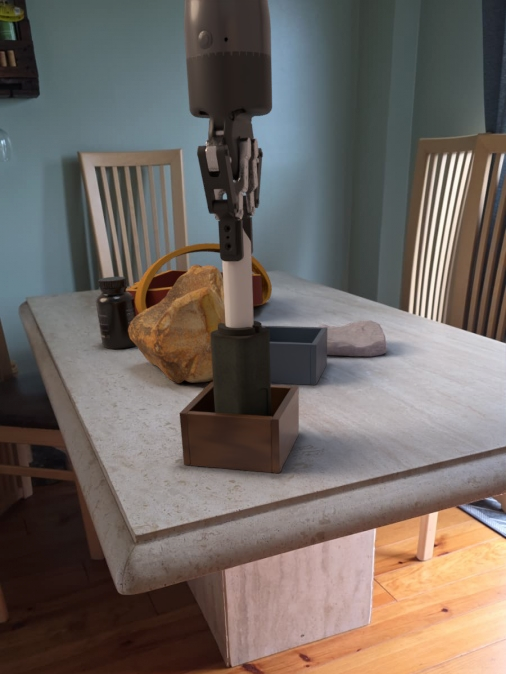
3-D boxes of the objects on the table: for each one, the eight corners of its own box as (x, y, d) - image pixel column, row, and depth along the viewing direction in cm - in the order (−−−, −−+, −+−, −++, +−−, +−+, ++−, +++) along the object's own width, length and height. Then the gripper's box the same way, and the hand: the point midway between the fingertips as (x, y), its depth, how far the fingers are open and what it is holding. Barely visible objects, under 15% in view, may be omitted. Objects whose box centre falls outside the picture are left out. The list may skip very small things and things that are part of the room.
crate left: (298, 434, 74) (298, 386, 71) (279, 473, 64) (278, 419, 62) (213, 428, 76) (211, 381, 74) (183, 465, 67) (179, 413, 64)
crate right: (326, 364, 99) (327, 327, 97) (316, 385, 90) (316, 344, 88) (262, 361, 102) (261, 325, 99) (245, 381, 93) (244, 342, 90)
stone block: (390, 365, 103) (376, 339, 112) (392, 339, 101) (378, 314, 109) (319, 371, 103) (311, 344, 111) (319, 345, 100) (311, 319, 108)
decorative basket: (239, 303, 158) (231, 241, 154) (309, 302, 134) (301, 229, 130) (114, 325, 142) (101, 257, 137) (168, 329, 118) (154, 247, 113)
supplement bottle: (129, 338, 119) (121, 274, 114) (145, 345, 114) (138, 278, 109) (95, 344, 116) (86, 278, 111) (111, 351, 110) (102, 283, 106)
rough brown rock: (146, 354, 111) (129, 269, 105) (238, 343, 111) (227, 257, 104) (123, 402, 90) (100, 299, 84) (236, 389, 90) (222, 285, 83)
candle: (248, 456, 67) (238, 206, 56) (212, 445, 70) (197, 206, 59) (276, 440, 70) (271, 203, 60) (240, 430, 73) (230, 203, 63)
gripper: (249, 36, 48) (256, 269, 55) (286, 62, 60) (288, 249, 67) (158, 45, 49) (176, 269, 57) (212, 68, 62) (222, 250, 69)
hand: (237, 257), depth 62 cm, fingers closed on candle, 3 cm apart
